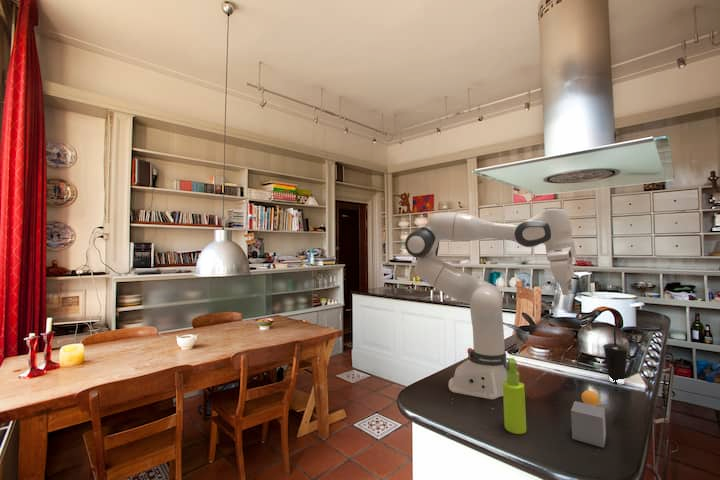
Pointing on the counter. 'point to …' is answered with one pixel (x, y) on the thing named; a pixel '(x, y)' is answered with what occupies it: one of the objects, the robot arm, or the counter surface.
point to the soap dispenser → (514, 401)
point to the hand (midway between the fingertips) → (567, 292)
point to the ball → (590, 397)
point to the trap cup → (588, 423)
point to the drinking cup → (616, 359)
